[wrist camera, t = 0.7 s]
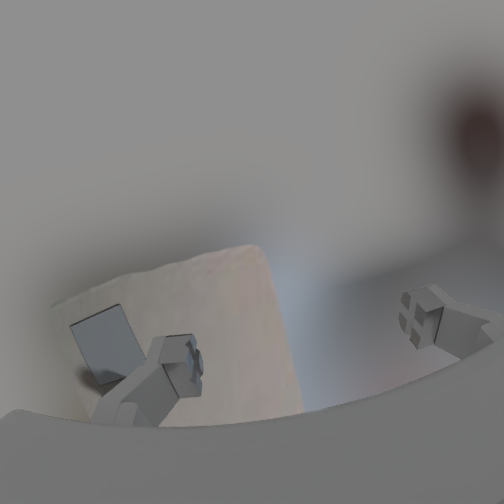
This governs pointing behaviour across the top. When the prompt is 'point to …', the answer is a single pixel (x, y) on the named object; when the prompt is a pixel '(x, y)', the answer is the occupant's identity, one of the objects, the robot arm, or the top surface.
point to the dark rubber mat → (109, 345)
